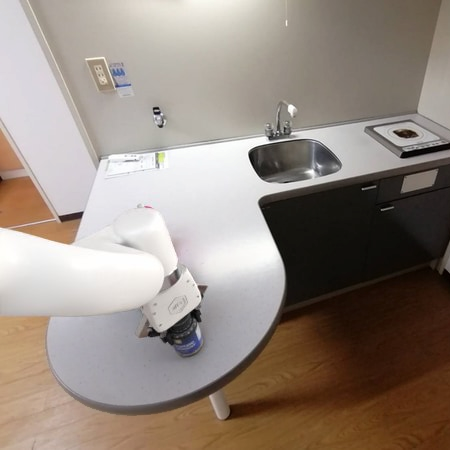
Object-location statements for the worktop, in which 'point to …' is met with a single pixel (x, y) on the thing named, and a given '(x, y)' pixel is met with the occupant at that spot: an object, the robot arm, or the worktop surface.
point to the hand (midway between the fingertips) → (183, 329)
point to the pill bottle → (186, 336)
